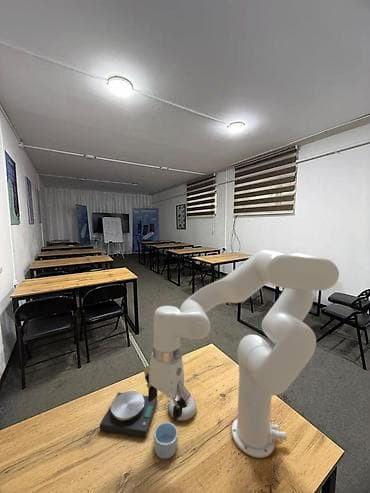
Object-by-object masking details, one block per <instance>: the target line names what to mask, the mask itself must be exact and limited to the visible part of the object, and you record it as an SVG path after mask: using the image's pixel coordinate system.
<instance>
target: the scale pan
mask: <svg viewBox="0 0 370 493" xmlns="http://www.w3.org/2000/svg"><path fill="white" fill-rule="evenodd" d="M121 393H122V394H120V395H118V396H117V395H116V396H117V397H116V396H115V397H116V398H115V397H114V399H113V400H112V402H111V404H110V406H111V414H112V416H113V417H114V418H116V419H118V420H129V419H132V418H134V417H136V416H137V415H139V414H140V413H141V411H142V410H143V408H144V398H143V396H144V395H142V393H140V392H139V391H135V390H127V391H124V392H121Z"/></svg>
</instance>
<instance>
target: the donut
mask: <svg viewBox="0 0 370 493" xmlns="http://www.w3.org/2000/svg"><path fill="white" fill-rule="evenodd" d="M176 398H177V400H180V399H179V397H178V395H177V396H176ZM174 406H175V404H174V402H173V400H172V398H169V401H168V406H167V409H168V413H169V415H170V416H171V417H172V418H173V407H174ZM184 406H185V407H182V415H181V417H180V418H178V419H177V420H176V421H180V422H181V421H189V420H190V419H191V418H193V416H194V415H195V414H196V412H197V402H196V400H195V398H194V397H193V396H192V395H191V397H190V398H189V400H188V401H187V402H186V403H185V405H184Z"/></svg>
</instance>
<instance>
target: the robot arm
mask: <svg viewBox="0 0 370 493" xmlns="http://www.w3.org/2000/svg"><path fill="white" fill-rule="evenodd" d="M339 277H340V271H339V268H338V266H337V265H336V264H335V263H334V262H333V261H332V260H330V259H327V258H326V257H325V258H324V257H320V256H314V255H310V254H304V253H290V254H286V253H282V252H278V251H272V250H260V251H258V252H256V253H254V254H253V255H251V256H250V257H249V258H248V259H247V260H245V261H244V262H243V263H241V264H240V265H238V266H237V267H236V268H235V269H233V270H232V271H231V272H229V273H228V274H226V276H224V277H222V278H221V279H218V280H216V281H214V282H210V283H209V284H207V285H205V286H203V287H201V288H199V289H198V290H197V291H195V292H194V293H193V294H192V295H190V296H189V297H187V298H186V299H185V300H184V301H183V302H182V304H181V305H180V307H179V308H178V307H177V306H173V305H162V306H159V307H157V308H156V309H155V311H154V313H153V338H152V339H153V340H152V353H151V356H150V360H149V365H148V366H145V367H144V368H143V369H142V370H143V373H144V379H145V381H146V383H147V384H146V387H147V388H148V392H147V393H148V394H147V396H148V401H149V402H151V401H152V400H153V399H155V398H156V397H157V398H158V391H159V392H160V393H161V394H163V395H165V396H166V397H167V398H169V399H171V398H172V400H173V402H174V404H175V406H174V407H173V417H172V421H173V422H176V421H178V420H177V419H178V418H180V417H181V415H182V408H183V406H186V405H185V403H186V402H187V401H188V400H189V398H190V397H191V396H192V393H191V392H190V391H189V390H188V389H187V387H186V386H185V370H184V363H183V354H182V353H181V338H184V339H187V340H188V339H189V340H202V339H204V338H206V337H207V336H208V335H209V334H210V330H211V322H210V319H209V317H208V315H207V312H209V311H210V310H211V309H212V308H214V307H216V306H218V305H221V304H226V303H227V304H228V303H229V304H230V303H231V304H233V303H234V304H235V303H236V304H238V303H243V302H245V301H247V300H248V299H249V298H250V297H252V296H253V295H254V294H256V293H257V292H258V291H259V290H260V289H262V288H263V287H264V286H265V285H267V284H270V285H272V286H275V287H278V288H282V289H283V290H282V292H281V294H280V295H279V297H278V298H277V300H276V301H275V302H274V303H273V305H272V307H271V308H270V309H269V311H268V312H267V313H266V315H265V316H264V317H263V319H262V321H261V329H262V331H263V333H264V334H265V336H266V337H267V338H268V339H269V340H270V341H271V342H272V343H273V344H274V347H272V345H271V344H270V343H269V342H268V341H267V340H265V339H264V338H263V337H261V336H260V335H258V334H247V335H245V336H244V337H242V338H241V339H240V341H239V343H238V347H237V362H238V393H237V394H238V395H237V417H236V418H235V419H234V420H233V422H232V424H231V436H232V439H233V441H234V443H235V445H236V446H237V447H238V448H239V449H240V450H241V451H242V452H243V453H245V454H246V455H248V456H250V457H253V458H256V459H257V458H259V459H260V458H266V457H269V456H270V455H271V454H272V453H273V452H274V449H275V445H276V444H275V442H276V440H280V441H287V440H288V437H287V432H286V431H281V430H280V425H279V424H272V423H271V411H272V396H277V395H281V394H283V393H284V392H285V391H286V390H288V388H289V387H290V386H291V385H292V384H293V382H294V381H295V380H296V379H297V378H298V376H299V375H300V373H301V372H302V370H303V369H305V367H306V365H307V364H308V362H309V361H310V360H311V358H312V357H313V355H314V354H315V351H316V348H317V337H316V334H315V332H314V331H313V329H312V328H311V327H310V326H309V325H307V323H305V322H304V320H305V318H306V317H307V316H308V314H309V312H310V311H311V309H312V307H313V303H314V291H318V292H319V291H320V292H321V291H326V290H329V289H331V288H333V287H334V286H335V285H336V284H337V282H338V281H339ZM177 395H178V397H179V399H180V400H177V398H176V396H177Z"/></svg>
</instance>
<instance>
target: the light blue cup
mask: <svg viewBox="0 0 370 493" xmlns="http://www.w3.org/2000/svg"><path fill="white" fill-rule="evenodd" d="M178 437H179V432H178V428H177V426H176V425H175V424H174V423H172V422H169V421H164V422H160V424H158V425H157V426H156V427H155V429H154V432H153V450H154V454H155V455H156V456H157V457H158V458H160V459H163V460H167V459H170V458H172V457H173V456H174V455H175V454H176V452H177V450H178V445H179V444H178Z"/></svg>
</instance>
